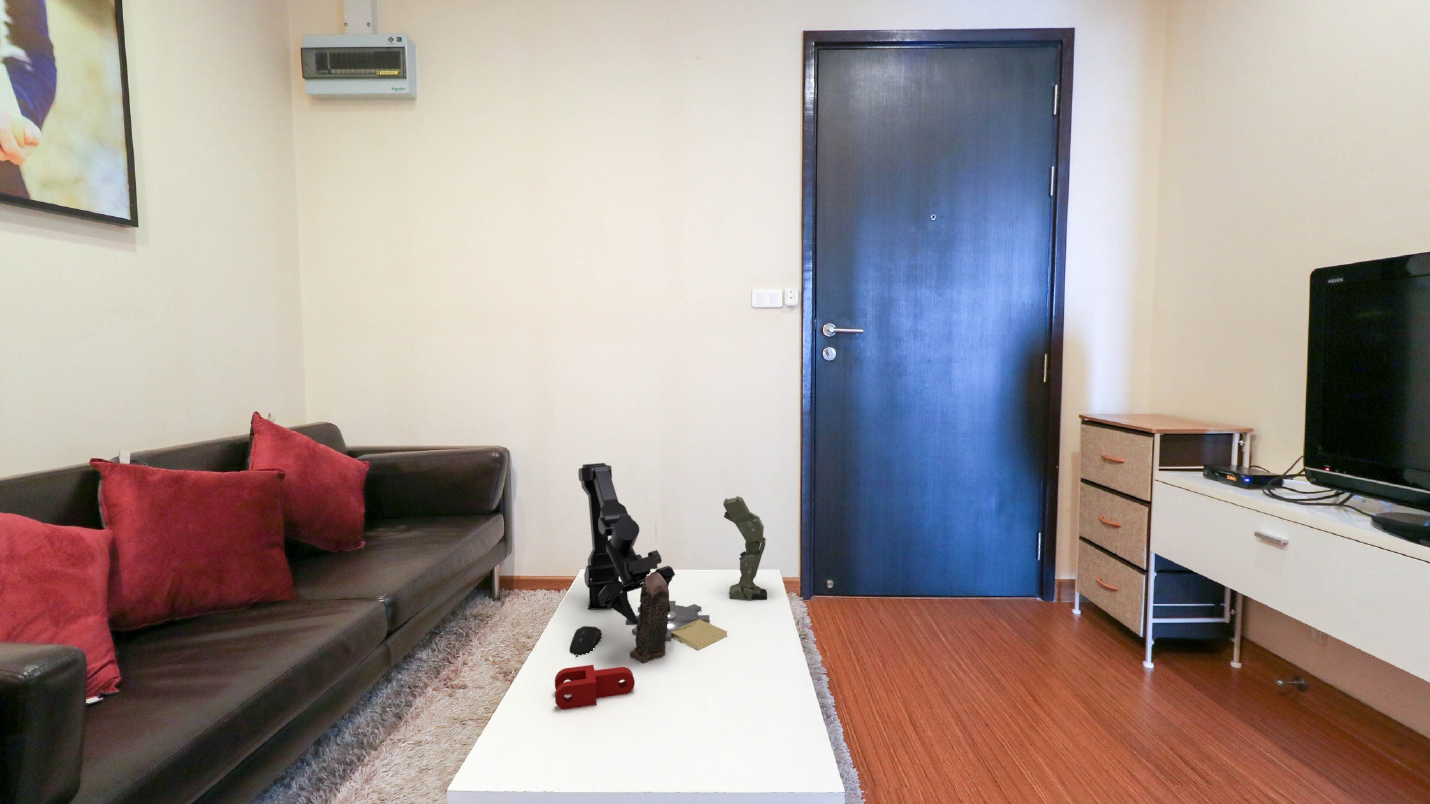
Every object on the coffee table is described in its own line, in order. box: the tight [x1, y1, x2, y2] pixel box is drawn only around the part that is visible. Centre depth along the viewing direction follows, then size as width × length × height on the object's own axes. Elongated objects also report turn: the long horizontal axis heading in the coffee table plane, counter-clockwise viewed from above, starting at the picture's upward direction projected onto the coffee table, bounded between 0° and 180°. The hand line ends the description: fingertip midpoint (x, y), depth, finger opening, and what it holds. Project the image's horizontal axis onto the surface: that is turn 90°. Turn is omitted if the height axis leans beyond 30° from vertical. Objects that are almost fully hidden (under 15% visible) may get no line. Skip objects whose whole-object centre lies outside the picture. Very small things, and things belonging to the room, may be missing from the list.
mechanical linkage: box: [554, 664, 636, 711], centre depth 130 cm, size 16×7×5 cm, turn 105°
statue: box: [629, 571, 670, 664], centre depth 145 cm, size 7×7×20 cm
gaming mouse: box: [569, 625, 603, 658], centre depth 151 cm, size 6×15×4 cm, turn 175°
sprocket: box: [625, 600, 728, 650], centre depth 162 cm, size 27×21×2 cm
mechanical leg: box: [723, 496, 768, 601], centre depth 180 cm, size 14×7×30 cm, turn 84°
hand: (653, 618), depth 145 cm, fingers open, 9 cm apart
